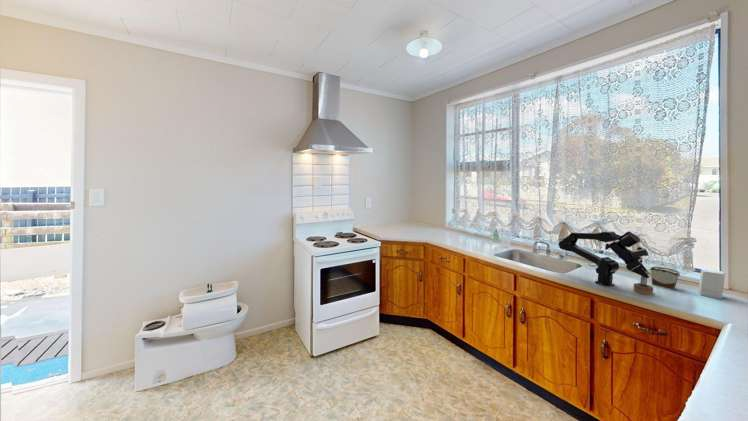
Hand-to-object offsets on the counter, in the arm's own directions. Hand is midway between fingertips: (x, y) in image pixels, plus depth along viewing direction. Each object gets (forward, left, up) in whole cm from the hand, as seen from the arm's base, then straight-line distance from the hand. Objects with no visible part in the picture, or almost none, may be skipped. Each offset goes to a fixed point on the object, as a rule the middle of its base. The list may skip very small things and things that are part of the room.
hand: (648, 275), depth 150 cm
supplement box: (+29, -8, -9) cm, 32 cm away
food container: (+21, +6, -9) cm, 24 cm away
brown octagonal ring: (-1, +1, -9) cm, 9 cm away
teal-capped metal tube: (-1, +1, -9) cm, 9 cm away
